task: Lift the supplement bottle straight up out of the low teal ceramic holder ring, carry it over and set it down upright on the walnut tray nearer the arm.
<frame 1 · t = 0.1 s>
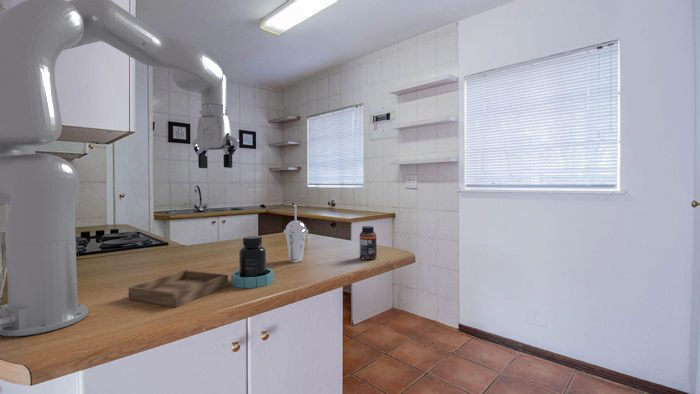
hand: (215, 167, 103), 31 cm above the table, tool pointing down, fingers open, 9 cm apart
tray: (181, 292, 80), on the table
supplement bottle: (253, 282, 88), resting in holder ring
supplement bottle 2: (368, 259, 116), on the table
holder ring: (253, 281, 88), on the table
cup with straw: (295, 261, 112), on the table
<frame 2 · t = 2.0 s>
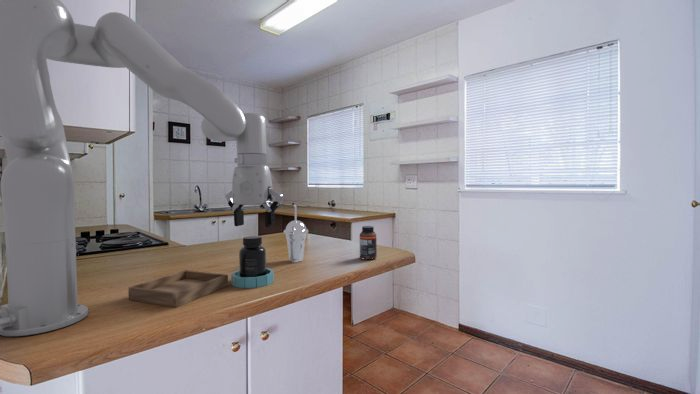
hand: (254, 226, 88), 15 cm above the table, tool pointing down, fingers open, 9 cm apart
nothing on the table moved.
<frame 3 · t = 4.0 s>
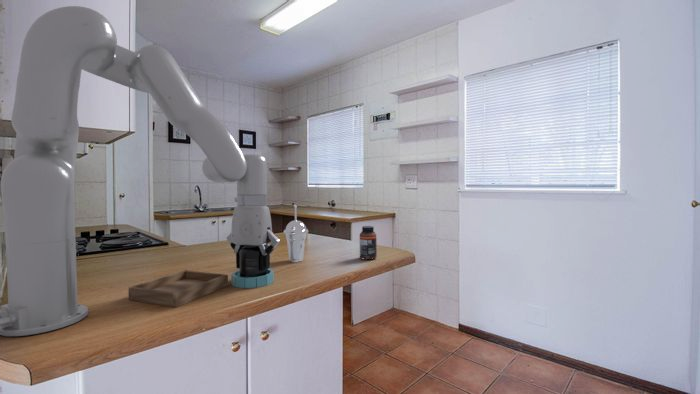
hand: (252, 267, 88), 4 cm above the table, tool pointing down, fingers closed on supplement bottle, 6 cm apart
supplement bottle: (253, 282, 88), resting in holder ring, touching gripper
everything else where it was.
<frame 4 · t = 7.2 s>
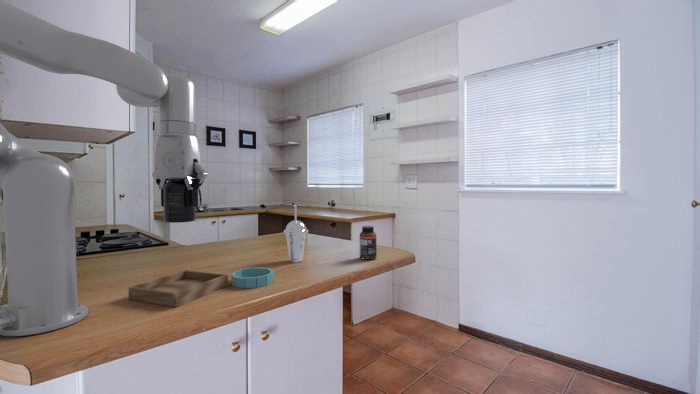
hand: (179, 206, 79), 21 cm above the table, tool pointing down, fingers closed on supplement bottle, 6 cm apart
supplement bottle: (180, 222, 79), point 17 cm above the table, touching gripper
everything else where it was.
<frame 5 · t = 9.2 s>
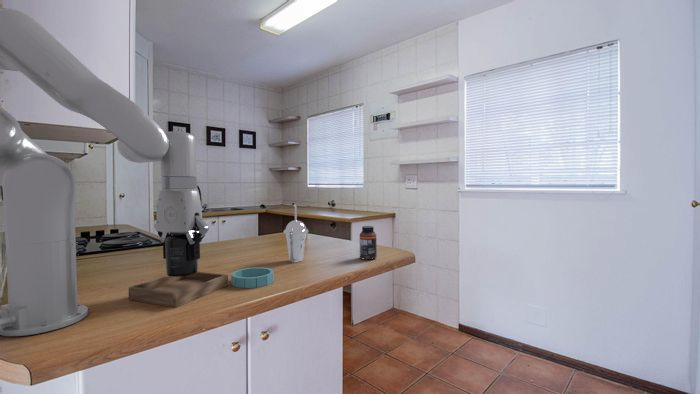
hand: (181, 258, 79), 8 cm above the table, tool pointing down, fingers closed on supplement bottle, 6 cm apart
supplement bottle: (182, 274, 80), point 4 cm above the table, touching gripper
everything else where it was.
when the fingers open (6 cm above the table, at t = 10.8 s): supplement bottle drops 1 cm, resting on tray.
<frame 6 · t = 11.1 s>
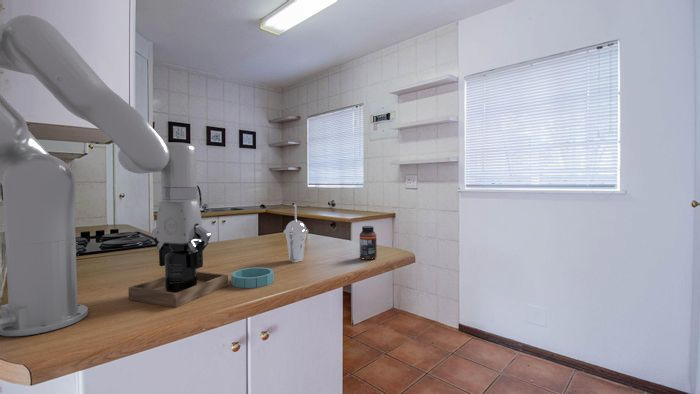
hand: (181, 266, 79), 6 cm above the table, tool pointing down, fingers open, 9 cm apart
supplement bottle: (181, 289, 79), point 1 cm above the table, touching tray
everything else where it was.
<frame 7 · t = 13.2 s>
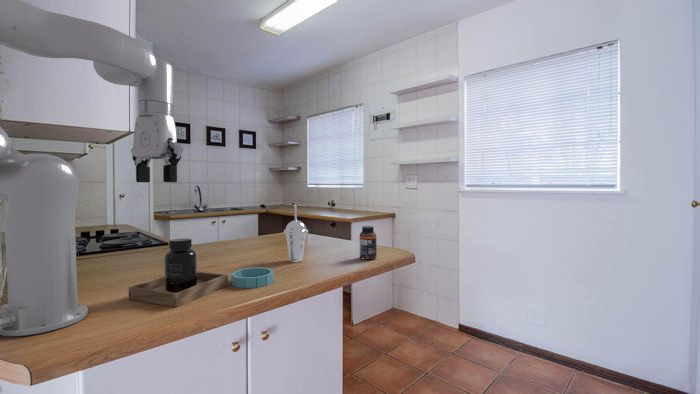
hand: (156, 182, 81), 27 cm above the table, tool pointing down, fingers open, 9 cm apart
nothing on the table moved.
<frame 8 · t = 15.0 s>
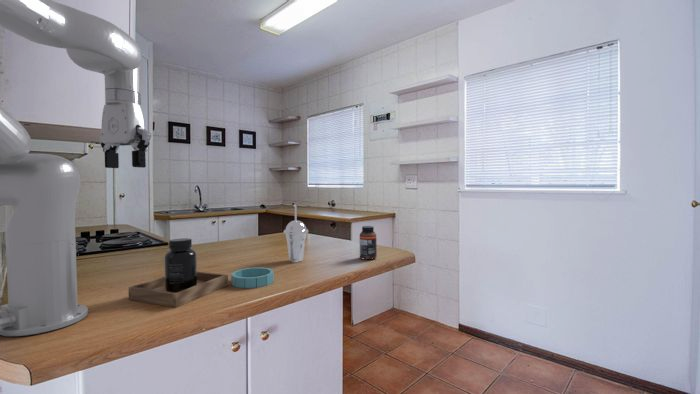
hand: (125, 167, 84), 30 cm above the table, tool pointing down, fingers open, 9 cm apart
nothing on the table moved.
at the end: supplement bottle inside the target area on the tray (0.1 cm from its centre), point 0.6 cm above the tray's base; supplement bottle tilted 0°; the gripper is holding nothing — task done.
